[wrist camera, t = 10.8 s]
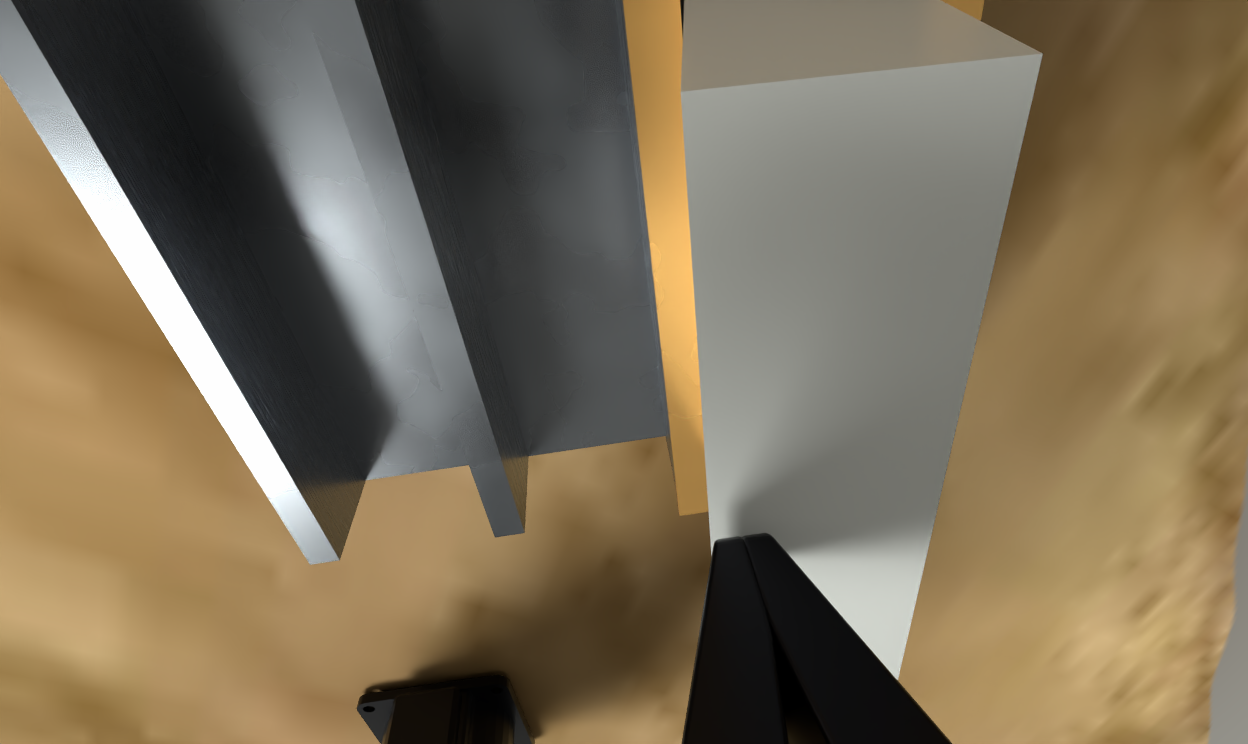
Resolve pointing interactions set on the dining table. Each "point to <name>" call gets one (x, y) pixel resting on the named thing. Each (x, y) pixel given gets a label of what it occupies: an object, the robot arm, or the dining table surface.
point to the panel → (843, 272)
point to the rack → (391, 226)
